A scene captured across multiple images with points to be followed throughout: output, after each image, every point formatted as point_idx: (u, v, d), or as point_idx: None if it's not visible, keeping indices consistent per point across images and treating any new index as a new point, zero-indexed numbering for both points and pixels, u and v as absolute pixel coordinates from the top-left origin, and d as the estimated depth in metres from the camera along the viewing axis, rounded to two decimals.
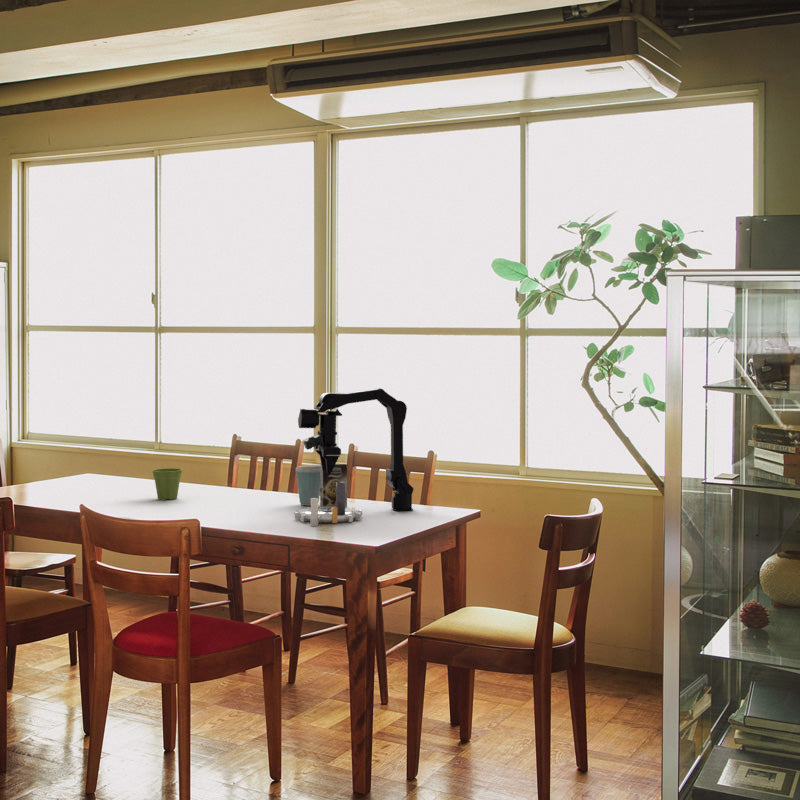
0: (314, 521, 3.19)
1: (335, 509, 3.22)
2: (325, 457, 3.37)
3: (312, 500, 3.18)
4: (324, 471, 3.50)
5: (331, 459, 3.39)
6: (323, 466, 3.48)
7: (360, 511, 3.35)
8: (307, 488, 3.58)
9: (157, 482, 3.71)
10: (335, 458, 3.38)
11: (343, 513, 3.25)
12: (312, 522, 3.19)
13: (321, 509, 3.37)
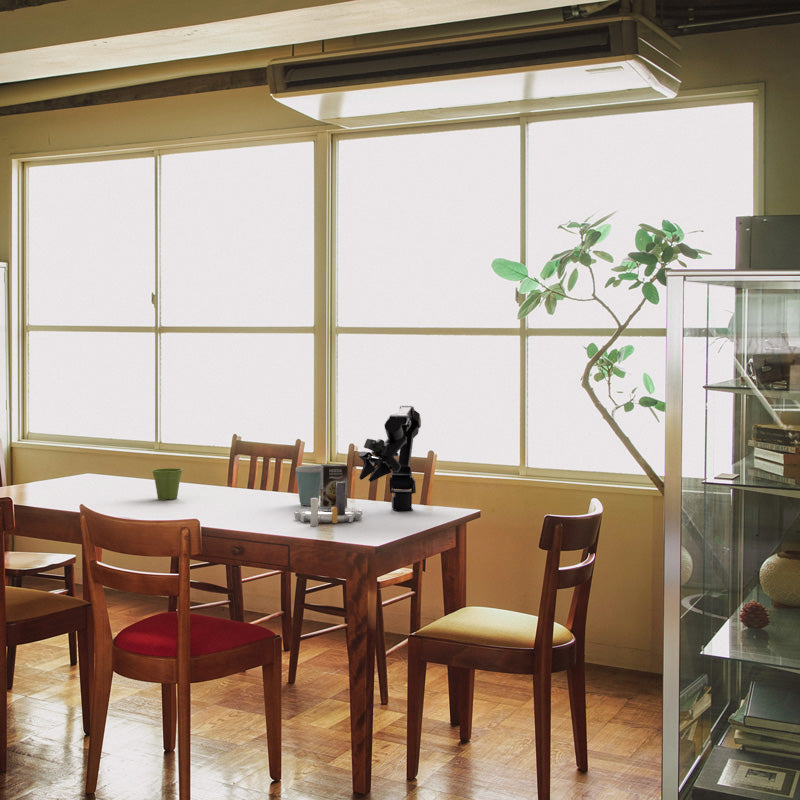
0: (314, 521, 3.19)
1: (335, 509, 3.22)
2: (380, 464, 3.29)
3: (312, 500, 3.18)
4: (324, 473, 3.49)
5: (381, 470, 3.30)
6: (362, 475, 3.34)
7: (360, 511, 3.35)
8: (307, 488, 3.58)
9: (157, 482, 3.71)
10: (385, 472, 3.30)
11: (343, 513, 3.25)
12: (312, 522, 3.19)
13: (321, 509, 3.37)
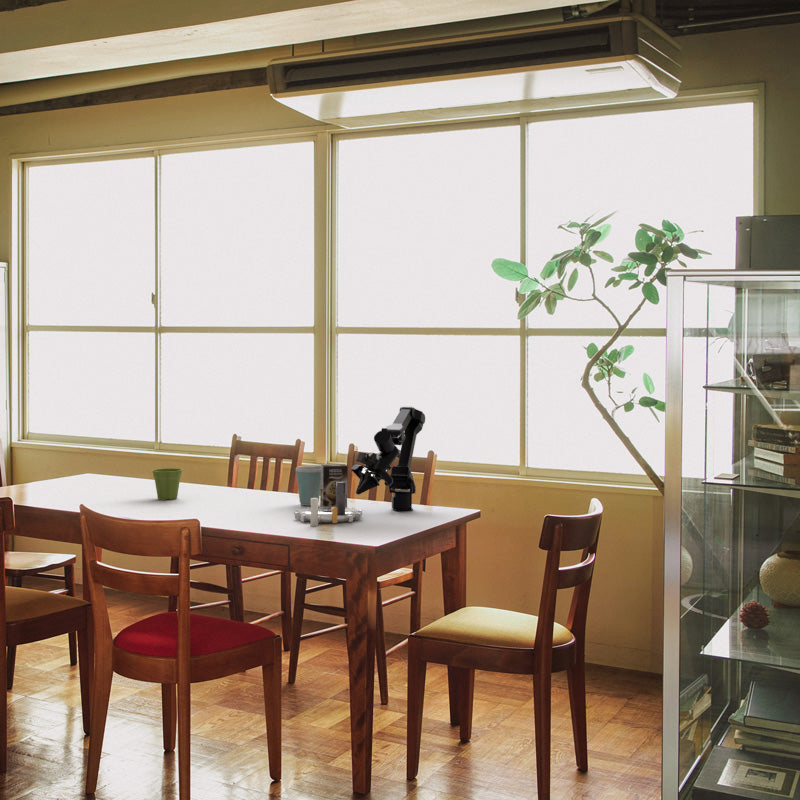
0: (314, 521, 3.19)
1: (335, 509, 3.22)
2: (368, 477, 3.29)
3: (312, 500, 3.18)
4: (324, 473, 3.49)
5: (369, 483, 3.31)
6: None
7: (360, 511, 3.35)
8: (307, 488, 3.58)
9: (157, 482, 3.71)
10: (373, 484, 3.31)
11: (343, 513, 3.25)
12: (312, 522, 3.19)
13: (321, 509, 3.37)
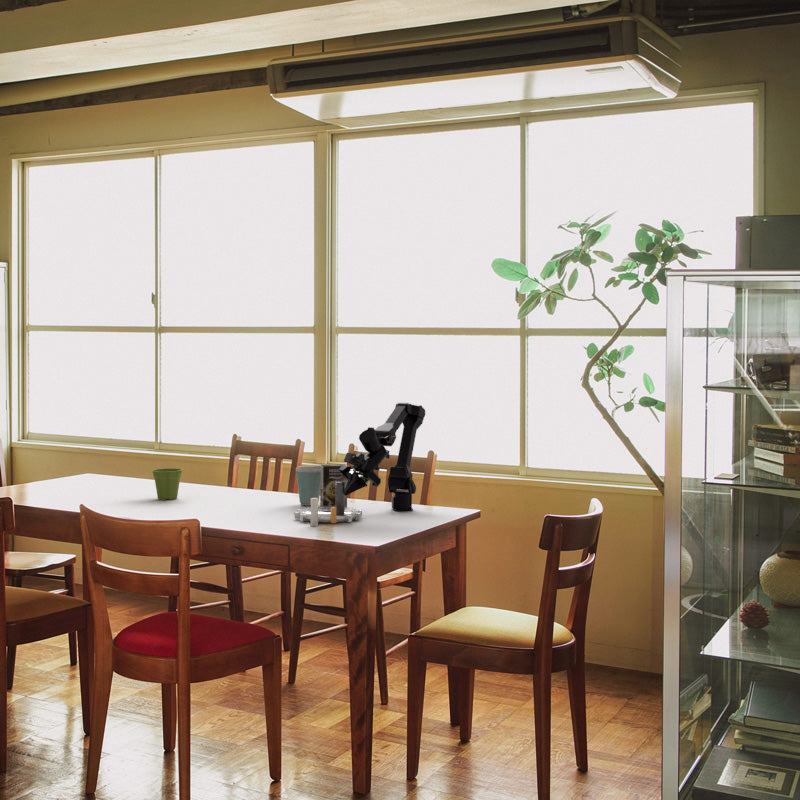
0: (314, 521, 3.19)
1: (334, 509, 3.22)
2: (356, 477, 3.26)
3: (312, 500, 3.18)
4: (324, 473, 3.49)
5: (357, 483, 3.28)
6: None
7: (360, 511, 3.35)
8: (307, 488, 3.58)
9: (157, 482, 3.71)
10: (361, 485, 3.28)
11: (342, 513, 3.25)
12: (312, 522, 3.19)
13: (321, 509, 3.37)
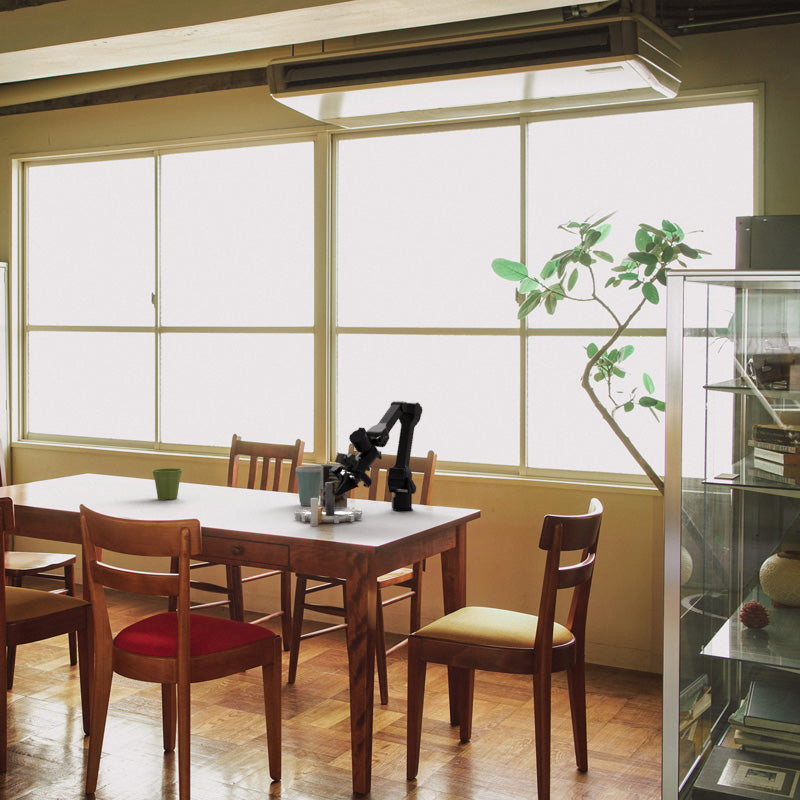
0: (314, 521, 3.19)
1: (319, 509, 3.22)
2: (347, 478, 3.24)
3: (312, 500, 3.18)
4: (324, 473, 3.49)
5: (348, 484, 3.26)
6: None
7: (359, 514, 3.30)
8: (307, 488, 3.58)
9: (157, 482, 3.71)
10: (352, 486, 3.26)
11: (330, 514, 3.24)
12: (312, 522, 3.19)
13: None
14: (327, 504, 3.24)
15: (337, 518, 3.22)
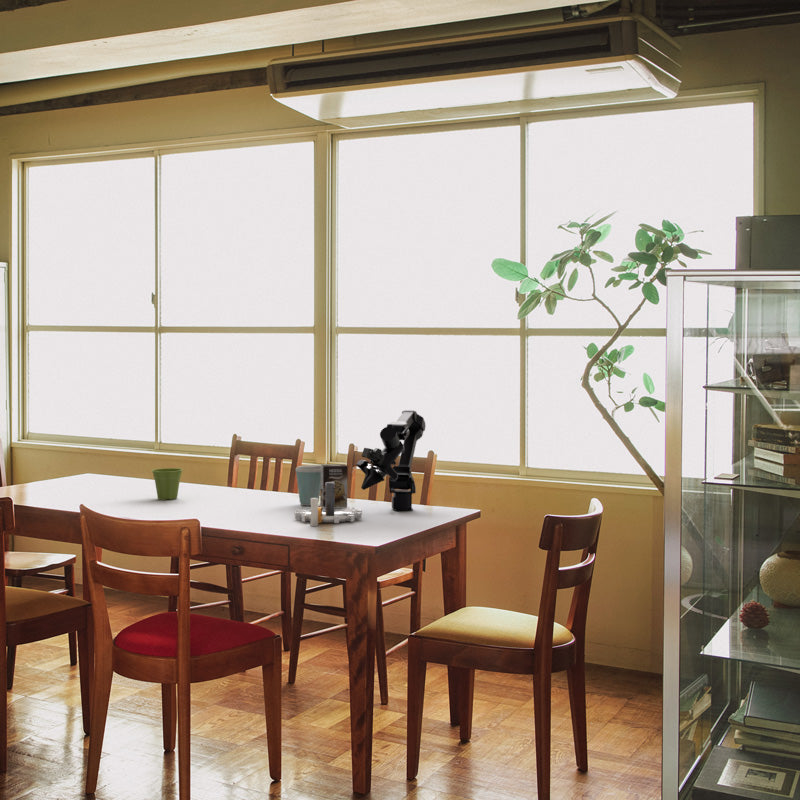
0: (314, 521, 3.19)
1: (319, 509, 3.22)
2: (373, 472, 3.32)
3: (312, 500, 3.18)
4: (324, 473, 3.49)
5: (374, 478, 3.34)
6: None
7: (359, 514, 3.30)
8: (307, 488, 3.58)
9: (157, 482, 3.71)
10: (378, 480, 3.34)
11: (330, 514, 3.24)
12: (312, 522, 3.19)
13: None
14: (327, 504, 3.24)
15: (337, 518, 3.22)
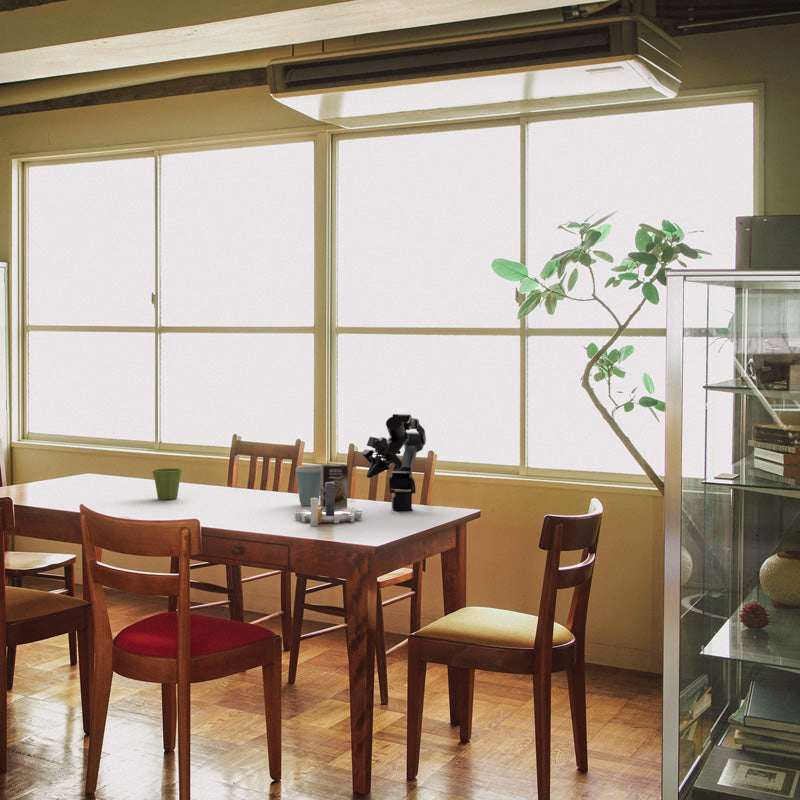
0: (314, 521, 3.19)
1: (319, 509, 3.22)
2: (378, 461, 3.38)
3: (312, 500, 3.18)
4: (324, 473, 3.49)
5: (379, 467, 3.39)
6: None
7: (359, 514, 3.30)
8: (307, 488, 3.58)
9: (157, 482, 3.71)
10: (383, 468, 3.39)
11: (330, 514, 3.24)
12: (312, 522, 3.19)
13: None
14: (327, 504, 3.24)
15: (337, 518, 3.22)
